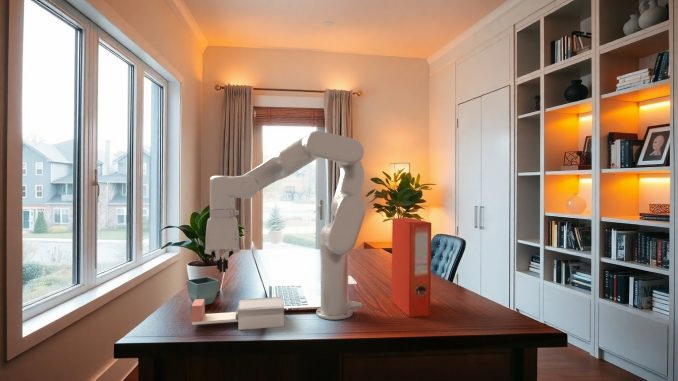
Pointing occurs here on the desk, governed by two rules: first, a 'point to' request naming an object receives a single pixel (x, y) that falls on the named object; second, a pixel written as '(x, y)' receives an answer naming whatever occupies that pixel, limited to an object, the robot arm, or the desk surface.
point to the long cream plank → (203, 318)
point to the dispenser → (260, 313)
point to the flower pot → (202, 289)
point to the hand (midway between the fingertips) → (222, 271)
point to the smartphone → (351, 280)
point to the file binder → (411, 266)
